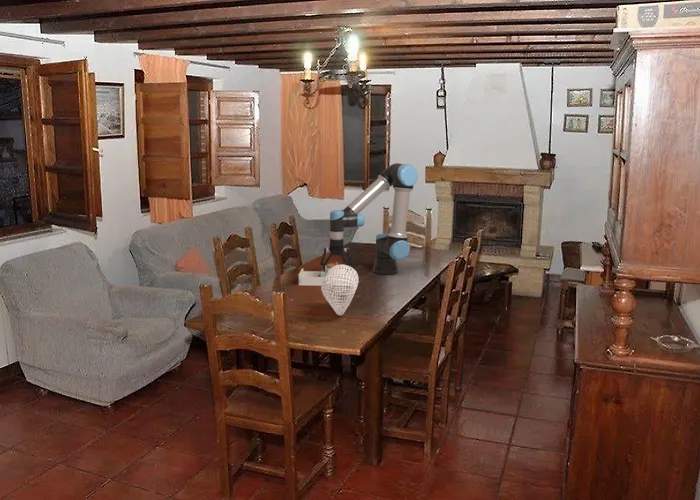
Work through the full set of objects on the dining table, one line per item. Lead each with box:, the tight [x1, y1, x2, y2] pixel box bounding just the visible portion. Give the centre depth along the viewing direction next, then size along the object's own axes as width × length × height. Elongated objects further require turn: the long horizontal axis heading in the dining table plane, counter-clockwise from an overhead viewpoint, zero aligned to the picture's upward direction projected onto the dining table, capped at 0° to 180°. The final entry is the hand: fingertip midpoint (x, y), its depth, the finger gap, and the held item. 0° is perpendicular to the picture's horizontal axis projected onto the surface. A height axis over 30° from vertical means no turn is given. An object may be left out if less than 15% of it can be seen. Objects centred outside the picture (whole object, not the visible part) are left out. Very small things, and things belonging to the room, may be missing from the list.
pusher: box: [318, 269, 325, 277], centre depth 363 cm, size 4×12×5 cm, turn 177°
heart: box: [320, 264, 359, 316], centre depth 300 cm, size 28×16×22 cm, turn 174°
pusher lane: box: [298, 268, 355, 287], centre depth 363 cm, size 31×15×6 cm, turn 87°
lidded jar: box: [326, 261, 346, 277], centre depth 361 cm, size 11×11×9 cm
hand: (336, 277), depth 362 cm, fingers closed on lidded jar, 11 cm apart
